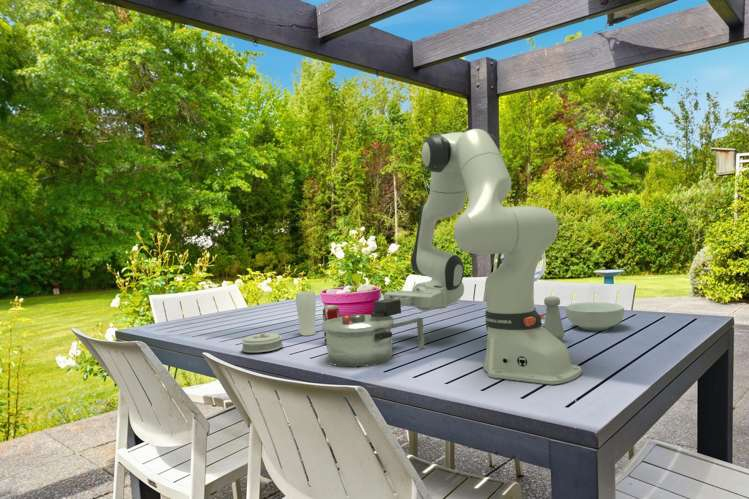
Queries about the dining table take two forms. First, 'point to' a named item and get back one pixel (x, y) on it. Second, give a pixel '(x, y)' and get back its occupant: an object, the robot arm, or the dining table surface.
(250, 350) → the lid
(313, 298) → the drinking glass
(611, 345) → the dining table surface
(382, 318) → the cooker lid
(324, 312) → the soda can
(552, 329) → the salt shaker
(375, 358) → the cooker pot
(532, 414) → the dining table surface
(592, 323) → the cereal bowl
